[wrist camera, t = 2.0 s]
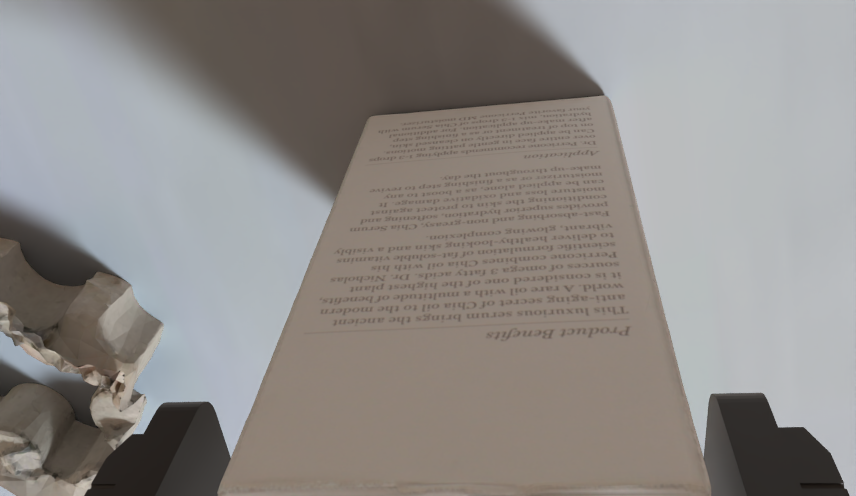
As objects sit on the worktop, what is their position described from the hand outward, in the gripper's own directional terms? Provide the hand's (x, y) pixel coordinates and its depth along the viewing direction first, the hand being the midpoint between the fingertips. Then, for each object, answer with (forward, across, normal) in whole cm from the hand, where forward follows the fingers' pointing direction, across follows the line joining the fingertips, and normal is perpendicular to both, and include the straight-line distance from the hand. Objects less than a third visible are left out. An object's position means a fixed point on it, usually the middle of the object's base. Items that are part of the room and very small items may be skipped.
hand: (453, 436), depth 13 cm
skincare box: (+9, 0, 0) cm, 9 cm away
